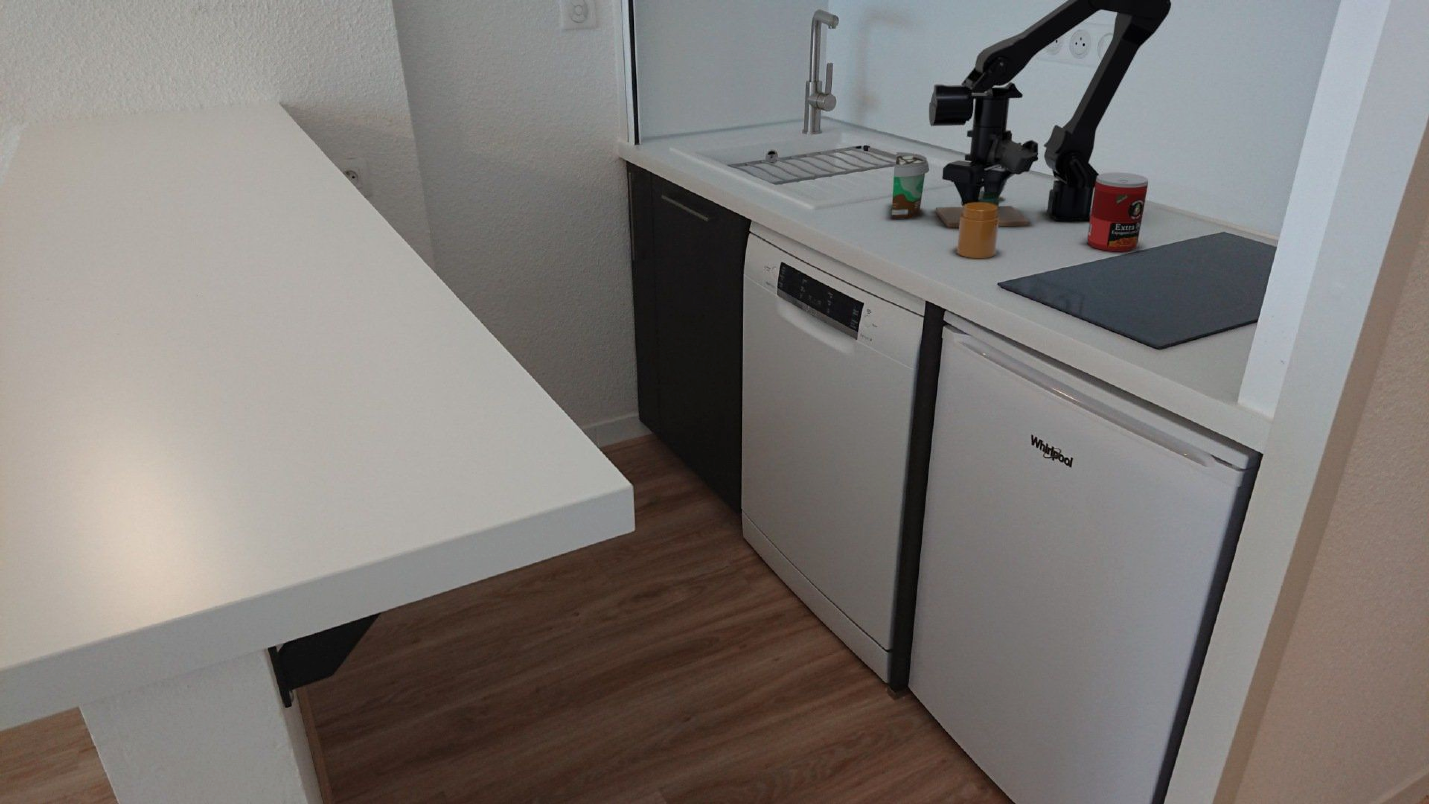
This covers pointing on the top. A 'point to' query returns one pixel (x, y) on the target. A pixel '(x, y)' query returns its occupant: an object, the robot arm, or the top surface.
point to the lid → (987, 198)
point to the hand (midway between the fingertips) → (980, 213)
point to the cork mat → (1005, 213)
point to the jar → (978, 230)
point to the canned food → (1117, 211)
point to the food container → (908, 184)
